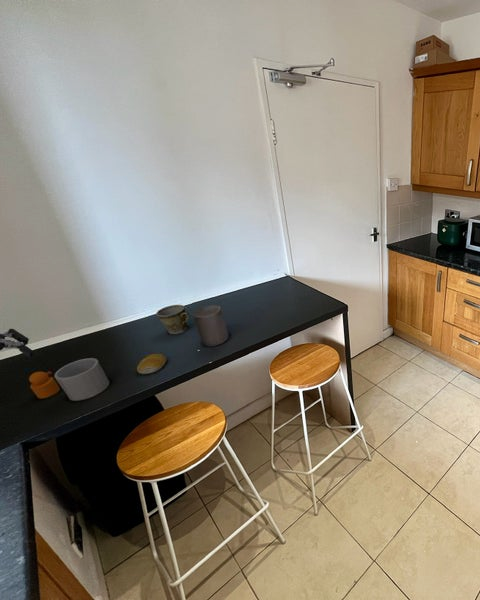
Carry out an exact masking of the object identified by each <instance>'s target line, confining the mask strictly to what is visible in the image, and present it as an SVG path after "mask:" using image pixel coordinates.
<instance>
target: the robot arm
mask: <svg viewBox="0 0 480 600" xmlns="http://www.w3.org/2000/svg"><path fill="white" fill-rule="evenodd" d="M6 338H8V339H6ZM9 338H10V339H9ZM12 339H14V340H12ZM29 340H30V339H29V338H28V337H27V336H25V335H24V334H22V333H21V332H19V331H18V330H16V329H14V328H9V329H8V331H5V332H3V333H0V351H3V349H7V350H8V349H10V350H11V349H15V350H18V351H19V352H21V353H22V354H23V355H25V356H26V357H28V358H31V357H32V356H33V355H34V354H33V353H34V351H33V350H32V349H31V348H30V347H29V346H27V345H28V344H29Z"/></svg>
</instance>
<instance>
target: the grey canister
mask: <svg viewBox="0 0 480 600" xmlns="http://www.w3.org/2000/svg"><path fill="white" fill-rule="evenodd" d="M192 315H193V318H194V321H195V324H196V327H197V331H198V333H199V337H200V339H201V343H202V344H203V345H204V346H206V347H214V346H219V345H221V344H223V343H225V342H226V341H227V340H228V339H229V335H230V334H229V331H228V328H227V325H226V322H225V319H224V316H223V315H224V314H223V312H222V309H221V306H219V305H215V304H213V305H212V304H211V305H205V306H202V307H199V308H197V309H195V311H193V313H192Z"/></svg>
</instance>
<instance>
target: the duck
mask: <svg viewBox="0 0 480 600" xmlns="http://www.w3.org/2000/svg"><path fill="white" fill-rule="evenodd" d="M51 374H53V372H52V371H47V372H45V371H36V372H33V373H32V374H30V375H29V378H28V381H29V382H30V383H31V384H30V386H29V387H30V389H31V390H32V392H33V393H34V394H35V396H36V398H38V399H47V398H50V397H52V396H54V395H56V394H58V392H60V390H61V387H60V385H58V382H57V381H56V379H55V378H54V377H53V376H50V375H51Z"/></svg>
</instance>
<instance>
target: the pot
mask: <svg viewBox="0 0 480 600" xmlns="http://www.w3.org/2000/svg"><path fill="white" fill-rule="evenodd" d="M54 379H55V381H56V382H57V384H59V387H60V388H61V389H62V391H63V392H64V393H65V395H66V397H67V398H68V399H69V400H70V401H72V402H73V401H74V402H76V401H77V402H79V401H83V400H87V399H90V398H93V397H95V396H98V394H100V393H102V392H103V391H105V390H106V389H107V388H108V387H109V385H110V379H109V378H108V376H107V374H106V373H105V371H104V369H103V367H102V365H101V364H100V362H99V360H98V359H97V358H94V357H89V358H82V359H77V360H75V361H73V362H70V363H67V364H66V365H64V366H62V367H61V368H59V369H58V370H57V371H56V372H55V373H54Z"/></svg>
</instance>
